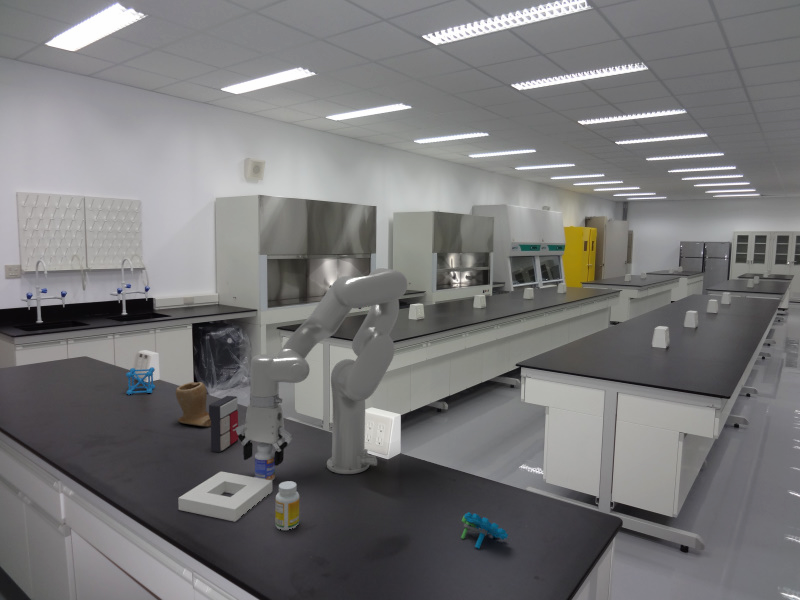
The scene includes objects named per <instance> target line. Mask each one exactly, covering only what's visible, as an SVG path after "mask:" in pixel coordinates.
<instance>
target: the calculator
mask: <svg viewBox="0 0 800 600" xmlns="http://www.w3.org/2000/svg"><path fill="white" fill-rule="evenodd" d="M208 413H209V417H210V419H211V426H210V446H211V448H210V451H211V452H212V453H221V452H223V451H224V450H226V449H227V448H228V447H230V446H231V445H233V444H235V443H236V442H237V441H238V440H239V438H238V435H237V432H236V428H237V427H239V410H238V396H234V395H226V396H224V397H222V398H219V399H218V400H216V401H214V402H211V403H210V404H209V405H208Z"/></svg>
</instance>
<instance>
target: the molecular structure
mask: <svg viewBox="0 0 800 600" xmlns="http://www.w3.org/2000/svg"><path fill="white" fill-rule="evenodd" d="M155 370H156V369H155V367H152V366H151V367H149V368H148V369H147V368H146V369H144V368H143V369H136V368H134V367H132V368H130V369H129V371H128V372H126V374H125V376H126V377H127V378H128V379H127V380H128V390H127V391H126V395H127V394H128V396H131V395H133V394H138V393H139V394H142V393H144V394H145V393H146V394H147V393H151V394H153V390H155V388H156V385H155V384H154V373H155ZM136 372H141V373H136ZM143 372H144V373H143ZM145 372H146V373H145ZM139 376H143V377H142V378H141V377H139ZM145 379H147V382H146V381H145ZM135 380H136V381H137V383H136V384H135ZM139 385H142V386H139ZM136 389H146V390H136ZM135 390H136V391H135ZM130 394H131V395H130Z"/></svg>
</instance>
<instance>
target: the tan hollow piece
mask: <svg viewBox="0 0 800 600" xmlns="http://www.w3.org/2000/svg"><path fill="white" fill-rule="evenodd" d="M207 393H208V392H207V388H206V385H205V384H204V383H203V382H202V381H198V382H194V381H193V382H187V383H183V384H181V385H180V386H178V387H176V389H175V396H176V400H177V402H178V404H179V407H180V408H181V410H182V416H180V417H179V418H178V419H177V421H178V423H181V424H185V425H191V426H199V427H211V419H210V417H209V412H207V409H206V408H207V400H208V399H207V398H208V396H207V395H208V394H207Z"/></svg>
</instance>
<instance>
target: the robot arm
mask: <svg viewBox="0 0 800 600" xmlns="http://www.w3.org/2000/svg"><path fill="white" fill-rule="evenodd" d="M407 289H408V280H407V278H406V275H405V274H404V273H402V272H401V271H399V270H397V269H392V268H391V269H390V268H375V269H373V270H371V272H370V273H369V274H368V275H364V276H355V277H354V276H351V275H350V276H347V275H345V276H340V277H338V278H337V279H336V280H334V282H333V283H332V284H331V286H330V287H329V288H328V290H327V292H326V293H325V294H324V295H323V297H322V298H321V300H320V301H319V303H318V304H317V306H316V307H315V308H314V309H313V311H312V313H310V316H308V318H307V319H305V320H304V321H303V322H302V323H301V325H299V327H298V328H296V330H295V331H294V332H293V333H292V334H291V335H290V336H289V338H288V339H287V341H286V342H285V344H284V345H283V346H282V348H281V349H280V351H279V352H278V354H277V356H276V355H274V354H268V353H267V354H265V353H263V354H257V355H254V356H253V357H252V358H251V359H250V360H251V361H250V379H249V380H250V382H249V383H250V385H249V388H250V390H249V391H250V393H249V403H248V404H247V409H246V414H245V420H244V424H243V423H242V424H241V425H238V427H237V428H236V432H237V435H238V440H239V441H240V442H241V446H242V449H243V450H242V451H243V452H242V454H243V460H244V461H246V460H248V459H250V458H252V457H253V442H257V443H268V444H272V446H273V447H274V449H275V450H276V451H274V452H275V461H274V465H275V467H277V466H279V465H280V464H282V463H283V461H284V454H285V453H284V452H285V451H284V450H285V449H286V448H287V447H288V446H289V445H290V443H291V442H292V439H293V438H294V437H293V434H292V433H290V432H288V430H286V429H285V422H284V414H283V407H282V405H281V404H282V403H283V398H280V394H279V392H280V390H279V389H280V387H279V386H280V383H287V384H298V383H301V382H303V381H305V380H306V379H307V378H308V376H309V375H310V369H311V368H310V365H309V363H308V361H307V360H306V358H307V357H308V355H309V353H310V352H311V351H312V350H313V348H314V347H315V346H317V344H319V343H320V342H323V340H325V339H328V338H330V337H331V336H334V335H335V334H336V332H337V331H338V329H339V328H340V327H341V326H342V324H343V322H344V321H345V319H346V318H347V316H348V315H349V313H350V312H351V311H352V310H353V309H363V308H367V307H370V308H369V311H368V313H367V315H366V316H365V318H364V320H363V322H362V324H361V326H360V327H359V329H358V330H357V332H356V334H355V336H354V338H353V339H352V344H351V348H352V351H353V353H354V354H355V356H356V359H349V358H348V359H343V360H340V361H338V362H337V363H336V364H335V365H334V366H333V368H332V370H331V373H330V388H331V397H332V398H331V399H332V417H331V418H332V423H331V426H332V427H331V428H332V431H331V433H332V437H331V438H332V439H331V440H332V441H331V443H332V445H331V446H332V447H331V457H329V458H328V460H327V461H326V468H327V469H328V470H329V471H330V472H334V473H335V474H342V475H354V474H358V473H359V474H360V473H362V472H364V471H366V470H367V469H368V468H370V466H375V467H377V465H378V459H377V456H376V455H371V454H369V453H368V452H369V450H368V449H365V437H366V400H367V399H369V398H370V397H371V396H373V394H374V393H375V391H376V390H377V388H378V387H379V385H380V383H381V381H382V380H383V378H384V376H385V374H386V373H387V371H388V369H389V367H390V365H391V363H392V361H393V359H394V357H395V356H394V355H395V343H394V341H393V339H392V337H391V336H390V334H391V332H392V331H393V328H394V326H395V324H396V322H397V319H398V317H399V312H400V301H399V299H400V298H401V297H403V296H404V295H405V293H406V292H407ZM283 439H284V441H283Z"/></svg>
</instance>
